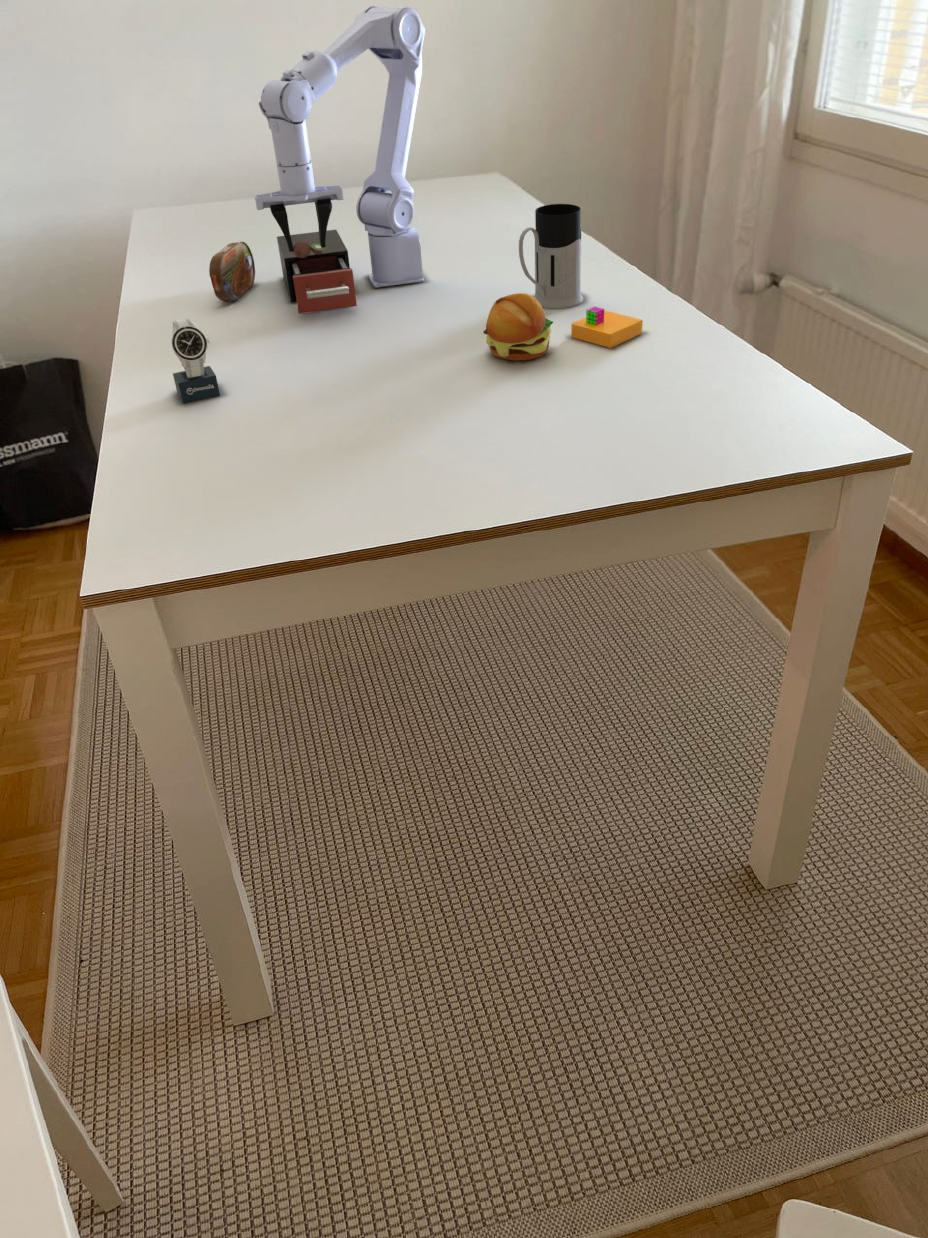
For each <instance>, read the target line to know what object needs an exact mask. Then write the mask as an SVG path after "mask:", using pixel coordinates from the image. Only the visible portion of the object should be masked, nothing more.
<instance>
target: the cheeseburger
mask: <svg viewBox="0 0 928 1238" xmlns="http://www.w3.org/2000/svg"><path fill="white" fill-rule="evenodd" d="M553 324H554V321H553V320H550V319H548V318H547V317H546V313H545V310H544V307H542V306H541V304H540V303H539V302H538V301H537V299H535V298H534V296H533V295H531V294H529V293H524V292H517V293H512V294H509V295H504V296H501V297H500V298H497V299H495V301H494V303H493V304H492V306H491V308H490V310H489V313H488V317H487V320H486V323H485V329H484V330H483V331H482V333H483V334H484V335H486V339H485V343H486V344H487V346H488V347H489V350H490V352H491V353H492V355H493V356H494V357H498V358H500V359H503V360H508V361H529V360H534V359H537V358H540V357H543V356H544V355H545V354H547V352H548V351H549V347H550V338H551V333H552V328H551V325H553Z"/></svg>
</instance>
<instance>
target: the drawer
mask: <svg viewBox="0 0 928 1238" xmlns="http://www.w3.org/2000/svg"><path fill="white" fill-rule="evenodd" d="M290 265H291V271H292V278H293V284H294V289H295V294H296V300H297V302H296V306H297V312H298V314H301V315H302V314H306V313H316V312H321V311H323V312H324V311H329V310H338V309H345V308H353V307H357V306H358V305H357V296H356V288H355V280H354V270H353V269H352V267H350V269H347V266H346V264H345V263H344V261H343V259H342V257H341V255H339V256H331V257H323V258H315V259H307V260H299V261H291V262H290Z"/></svg>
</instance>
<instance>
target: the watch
mask: <svg viewBox="0 0 928 1238" xmlns="http://www.w3.org/2000/svg"><path fill="white" fill-rule="evenodd" d="M210 343H211V342H210V339H209V337H206V335H205V333H203V331H201V330H200V328H199V327H198V326H197V324H196V323H195V322H192V320H191V319H190V318H184V319H178V320H173V321H172V335H171V348H172V351H173V353H174V354H175V356H176V357H177V358H178V361H180V363H181V366H182V367H183V368H184V370H182V371H178V372H172V377H173V381H174V385H175V389H176V392H177V395H178V397H179V399H180V401H181V402H182V404H187V403H188V404H189V403H193V402H197V401H202V400H206V399H210V398H215V397H220V396H221V392H220V388H219V383H218V379H217V375H216V373H215V372H214V370H213V369H212V367H211V366H210V365H207V366H204V365H205V364H206V361H207V350H208V345H210Z"/></svg>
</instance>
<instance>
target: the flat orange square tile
mask: <svg viewBox="0 0 928 1238" xmlns="http://www.w3.org/2000/svg"><path fill="white" fill-rule="evenodd" d="M585 311H586V313H585V315H586V316H585V317H583V318H581V319H579V320H577V321H574V322H572V323H571V326H570V327H571V328H570V329H571V330H570V336H571V338H572V339H577V340H579V341H584V342H588V343H591V344H593V345H598V346H601V347H605V348H607V349H608V348H609V349H611V348H614V347H616V346H618V345H620V344H623V343H624V342H625V343H626V341H629V340H631V339H633V338H636V337H637V336H640V335H642V334H643V323H644V320H643V319H640V318H636V317H632V316H629V315H625V314H621V313H617V312H613V311H609V310H605V308H602V307H597V306H592V307H590V308H587V309H586V310H585Z"/></svg>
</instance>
